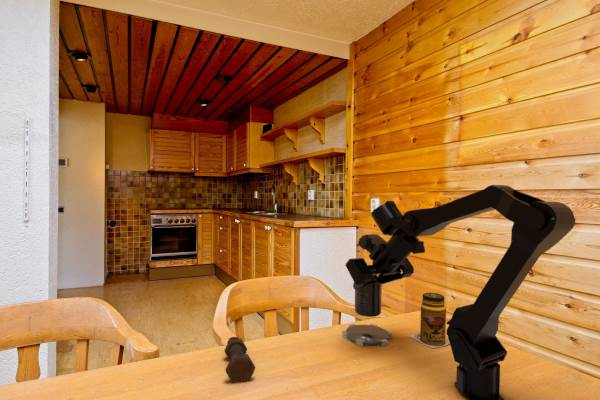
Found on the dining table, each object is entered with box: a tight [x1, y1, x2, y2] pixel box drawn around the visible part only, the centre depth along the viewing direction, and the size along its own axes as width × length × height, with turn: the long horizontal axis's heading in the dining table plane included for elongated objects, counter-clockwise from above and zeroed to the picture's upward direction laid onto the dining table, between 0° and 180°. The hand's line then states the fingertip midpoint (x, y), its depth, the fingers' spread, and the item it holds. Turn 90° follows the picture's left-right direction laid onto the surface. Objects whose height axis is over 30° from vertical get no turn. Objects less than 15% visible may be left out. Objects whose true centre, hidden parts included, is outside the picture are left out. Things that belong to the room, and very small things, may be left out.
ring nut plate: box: [342, 323, 393, 347], centre depth 94 cm, size 13×12×1 cm
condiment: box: [408, 292, 450, 349], centre depth 92 cm, size 7×8×12 cm
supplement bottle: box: [354, 274, 383, 318], centre depth 94 cm, size 7×7×12 cm
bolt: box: [224, 336, 256, 384], centre depth 78 cm, size 6×5×15 cm
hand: (364, 286), depth 95 cm, fingers closed on supplement bottle, 7 cm apart
